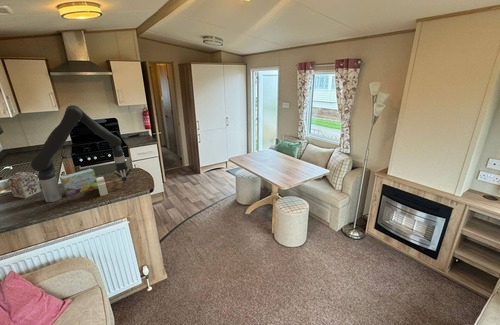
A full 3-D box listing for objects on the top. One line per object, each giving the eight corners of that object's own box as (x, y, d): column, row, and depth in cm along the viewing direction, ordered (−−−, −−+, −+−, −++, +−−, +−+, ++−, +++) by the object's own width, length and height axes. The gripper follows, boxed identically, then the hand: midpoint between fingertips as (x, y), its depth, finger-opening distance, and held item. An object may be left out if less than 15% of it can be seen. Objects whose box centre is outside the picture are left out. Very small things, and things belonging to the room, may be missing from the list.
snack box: (67, 197, 176) (61, 178, 170) (64, 194, 179) (59, 176, 173) (98, 186, 191) (93, 169, 186) (95, 184, 195) (90, 167, 189)
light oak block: (107, 192, 183) (105, 186, 181) (106, 188, 189) (104, 182, 187) (124, 188, 189) (123, 182, 187) (122, 184, 195) (121, 178, 193)
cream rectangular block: (100, 196, 177) (97, 185, 173) (98, 188, 189) (96, 178, 185) (108, 194, 179) (105, 183, 176) (105, 186, 191) (103, 176, 188)
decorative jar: (25, 198, 173) (17, 176, 167) (13, 197, 175) (4, 175, 169) (42, 191, 184) (34, 170, 178) (30, 189, 186) (22, 168, 180)
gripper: (111, 164, 179) (116, 184, 186) (130, 160, 186) (134, 180, 193) (110, 161, 185) (115, 181, 191) (128, 158, 192) (132, 177, 198)
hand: (124, 180), depth 192 cm, fingers closed
